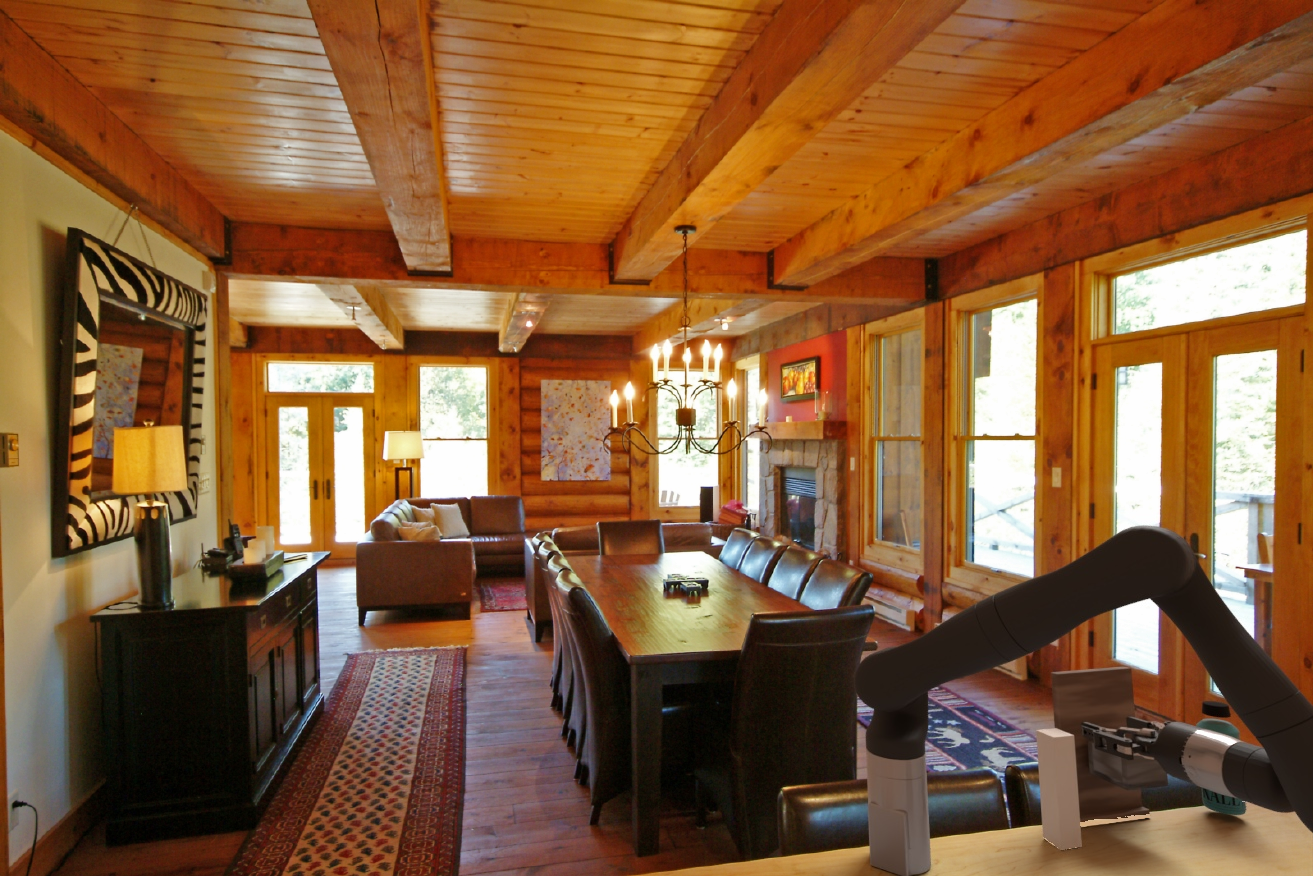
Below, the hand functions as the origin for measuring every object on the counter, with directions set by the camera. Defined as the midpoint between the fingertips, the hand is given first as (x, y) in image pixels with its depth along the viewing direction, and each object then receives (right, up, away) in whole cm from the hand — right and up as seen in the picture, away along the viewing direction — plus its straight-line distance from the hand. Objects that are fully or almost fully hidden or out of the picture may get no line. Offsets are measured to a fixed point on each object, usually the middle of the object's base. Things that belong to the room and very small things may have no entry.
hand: (1105, 726), depth 110 cm
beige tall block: (-2, -23, +8) cm, 25 cm away
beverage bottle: (+32, -23, +17) cm, 43 cm away
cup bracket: (+11, -23, +13) cm, 29 cm away
